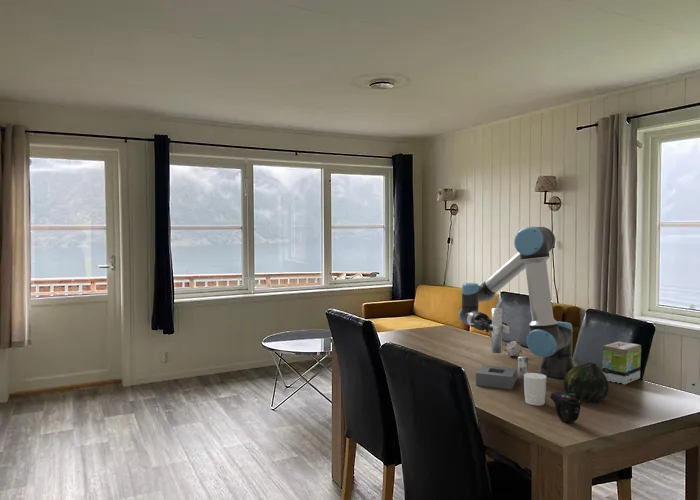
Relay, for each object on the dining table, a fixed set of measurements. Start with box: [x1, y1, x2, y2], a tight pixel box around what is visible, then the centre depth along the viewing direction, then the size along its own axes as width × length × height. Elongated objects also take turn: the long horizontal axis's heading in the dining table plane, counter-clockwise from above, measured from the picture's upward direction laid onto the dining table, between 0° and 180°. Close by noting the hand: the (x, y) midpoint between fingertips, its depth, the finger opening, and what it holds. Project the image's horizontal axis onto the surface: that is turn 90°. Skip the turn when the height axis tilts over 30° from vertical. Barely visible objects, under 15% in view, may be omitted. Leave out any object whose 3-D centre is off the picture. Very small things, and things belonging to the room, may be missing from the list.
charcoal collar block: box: [475, 364, 517, 390], centre depth 219 cm, size 14×14×5 cm
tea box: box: [601, 341, 642, 385], centre depth 223 cm, size 15×10×15 cm, turn 131°
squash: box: [563, 362, 610, 403], centre depth 197 cm, size 14×15×15 cm
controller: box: [549, 392, 582, 423], centre depth 175 cm, size 4×12×10 cm, turn 14°
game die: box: [504, 339, 524, 357], centre depth 264 cm, size 9×8×10 cm
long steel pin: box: [491, 307, 503, 354], centre depth 218 cm, size 4×4×18 cm
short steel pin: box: [517, 355, 529, 381], centre depth 225 cm, size 4×4×9 cm
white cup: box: [523, 372, 548, 407], centre depth 194 cm, size 8×8×10 cm
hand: (502, 330), depth 213 cm, fingers closed on long steel pin, 4 cm apart
